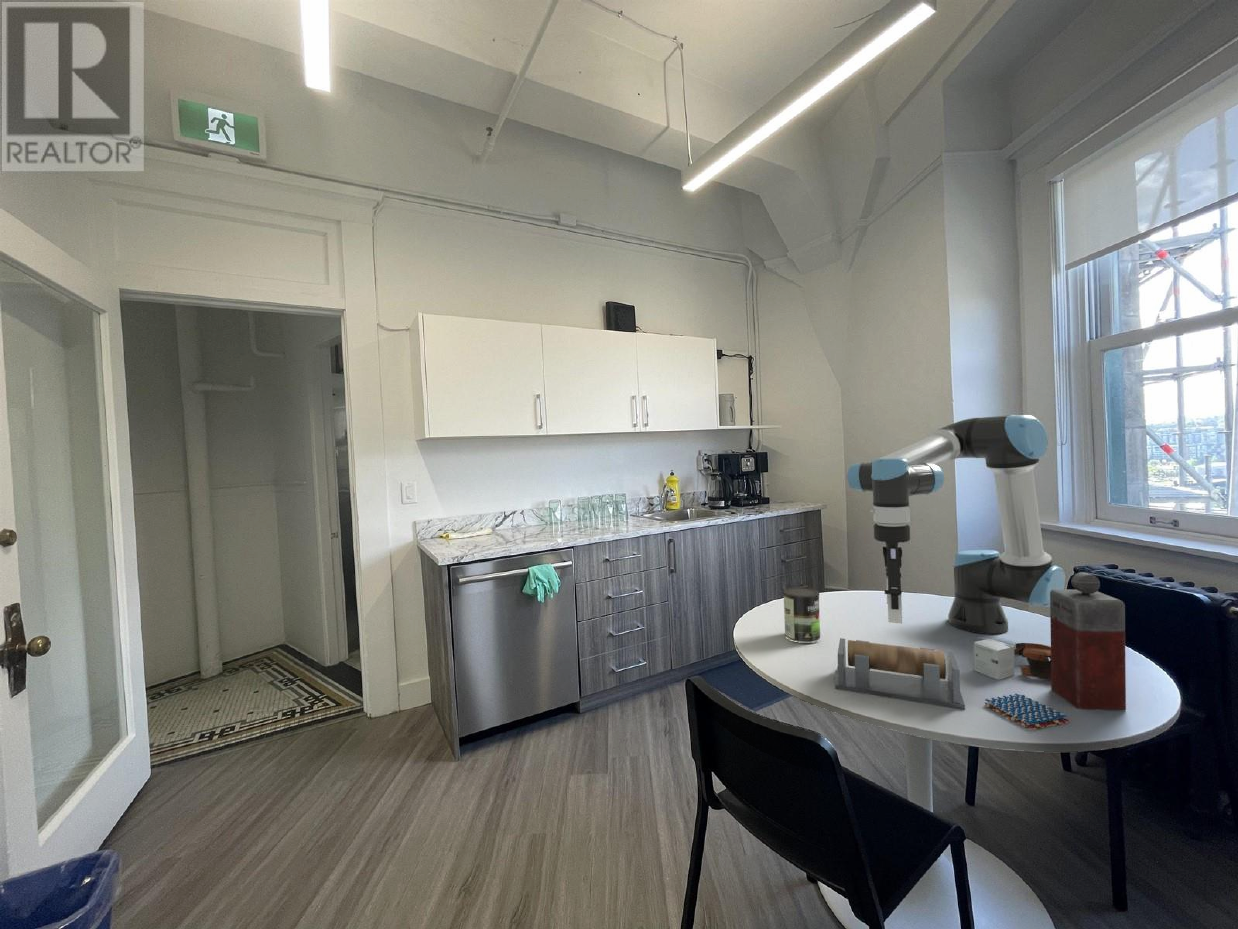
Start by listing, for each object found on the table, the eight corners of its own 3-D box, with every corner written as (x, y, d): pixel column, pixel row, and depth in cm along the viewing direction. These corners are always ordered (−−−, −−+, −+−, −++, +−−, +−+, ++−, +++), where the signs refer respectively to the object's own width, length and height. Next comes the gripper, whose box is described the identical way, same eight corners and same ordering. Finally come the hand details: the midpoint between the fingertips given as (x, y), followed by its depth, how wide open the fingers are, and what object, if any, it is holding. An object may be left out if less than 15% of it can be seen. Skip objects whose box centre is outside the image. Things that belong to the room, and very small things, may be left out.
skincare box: (973, 670, 128) (972, 641, 128) (989, 666, 130) (989, 637, 130) (998, 680, 122) (998, 650, 122) (1015, 675, 124) (1014, 646, 124)
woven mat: (1031, 734, 101) (1031, 724, 101) (982, 707, 111) (982, 698, 111) (1072, 726, 103) (1072, 716, 103) (1021, 700, 114) (1020, 691, 114)
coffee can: (827, 637, 153) (825, 590, 153) (809, 647, 147) (808, 598, 146) (795, 629, 161) (794, 584, 161) (777, 638, 154) (776, 592, 154)
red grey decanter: (1088, 685, 118) (1086, 566, 117) (1126, 711, 107) (1125, 578, 106) (1044, 684, 119) (1042, 566, 118) (1078, 708, 108) (1076, 578, 107)
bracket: (957, 687, 120) (956, 651, 120) (965, 709, 110) (964, 671, 110) (837, 669, 132) (836, 637, 131) (834, 688, 122) (833, 653, 121)
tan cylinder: (942, 672, 119) (942, 647, 119) (946, 684, 114) (945, 658, 113) (849, 659, 128) (848, 636, 128) (848, 670, 123) (847, 645, 122)
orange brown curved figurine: (1006, 674, 126) (1003, 640, 129) (1025, 683, 130) (1022, 649, 133) (1066, 679, 116) (1061, 642, 120) (1085, 688, 120) (1080, 651, 123)
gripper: (873, 515, 132) (876, 596, 133) (873, 532, 110) (876, 629, 111) (906, 516, 129) (909, 598, 130) (913, 533, 107) (916, 633, 107)
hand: (894, 613), depth 120 cm, fingers open, 13 cm apart
